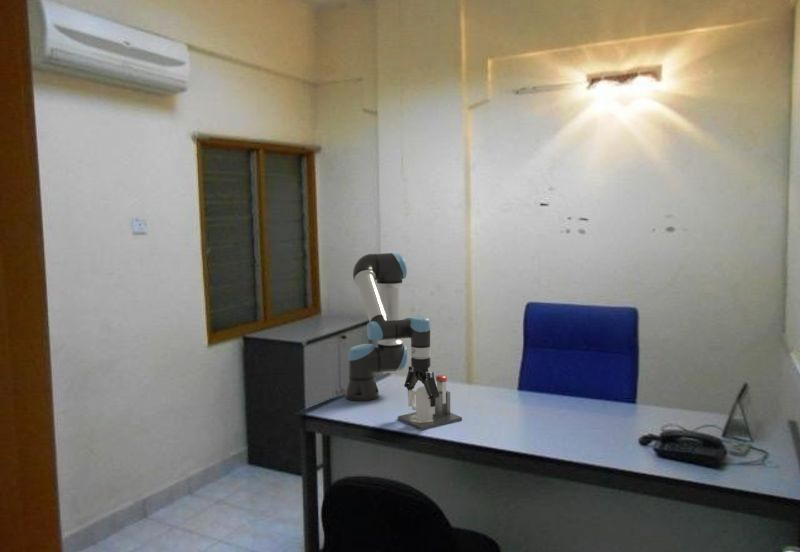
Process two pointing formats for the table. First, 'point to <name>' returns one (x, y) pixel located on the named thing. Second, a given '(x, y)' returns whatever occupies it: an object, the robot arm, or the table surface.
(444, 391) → the red-capped tube
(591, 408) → the table surface
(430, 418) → the mug
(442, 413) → the dark grey holder stand
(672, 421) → the table surface
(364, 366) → the robot arm
